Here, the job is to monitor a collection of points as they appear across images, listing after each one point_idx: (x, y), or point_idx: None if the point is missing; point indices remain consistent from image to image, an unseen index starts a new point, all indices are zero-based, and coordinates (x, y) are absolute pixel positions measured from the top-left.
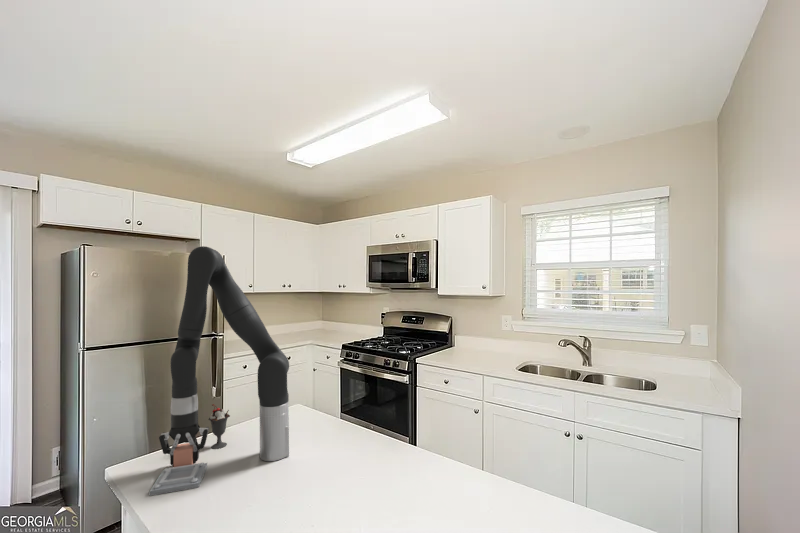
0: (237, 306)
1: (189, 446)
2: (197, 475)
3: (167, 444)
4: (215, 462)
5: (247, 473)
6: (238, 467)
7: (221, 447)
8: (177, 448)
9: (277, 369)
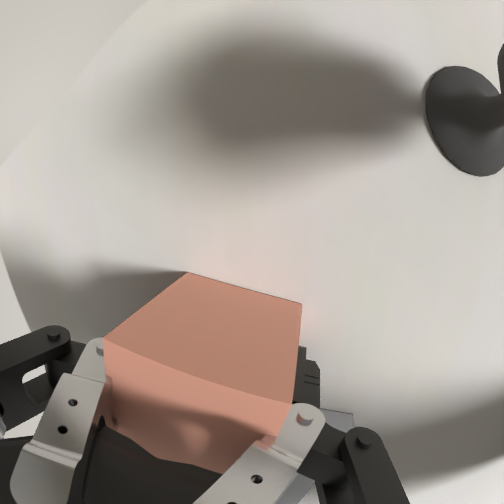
0: None
1: (226, 457)
2: (286, 491)
3: (27, 368)
4: (404, 386)
5: (439, 489)
6: (447, 457)
7: (487, 174)
8: (126, 422)
9: None
